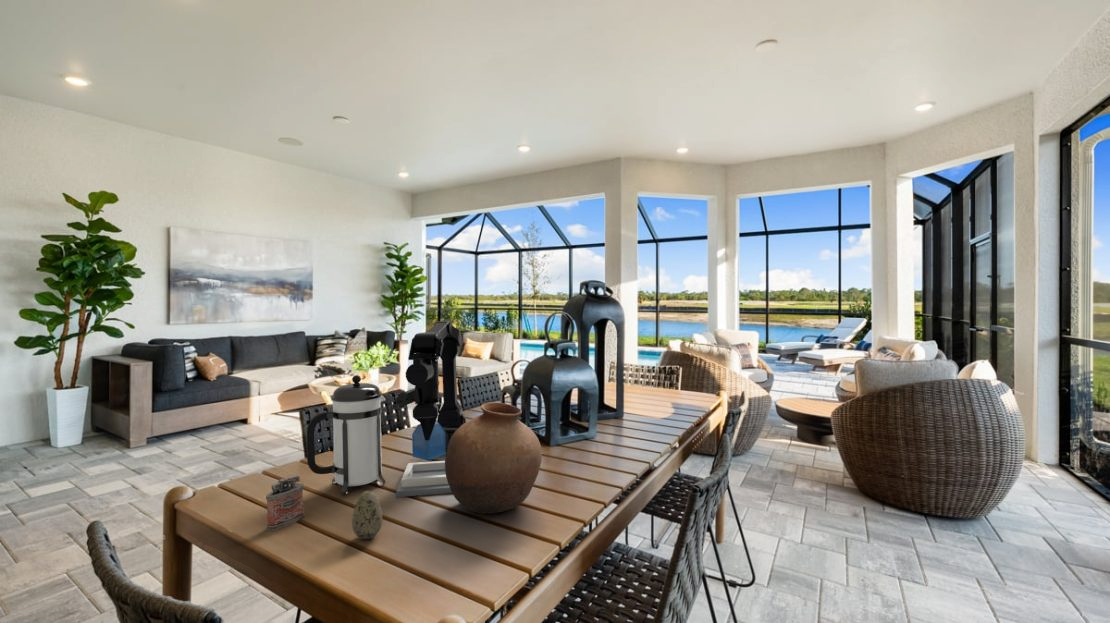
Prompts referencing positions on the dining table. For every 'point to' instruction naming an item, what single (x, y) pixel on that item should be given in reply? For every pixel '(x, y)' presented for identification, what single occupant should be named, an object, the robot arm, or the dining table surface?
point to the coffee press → (352, 435)
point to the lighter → (285, 503)
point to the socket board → (423, 479)
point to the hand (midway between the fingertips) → (428, 435)
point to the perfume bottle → (428, 443)
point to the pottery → (493, 460)
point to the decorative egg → (367, 516)
